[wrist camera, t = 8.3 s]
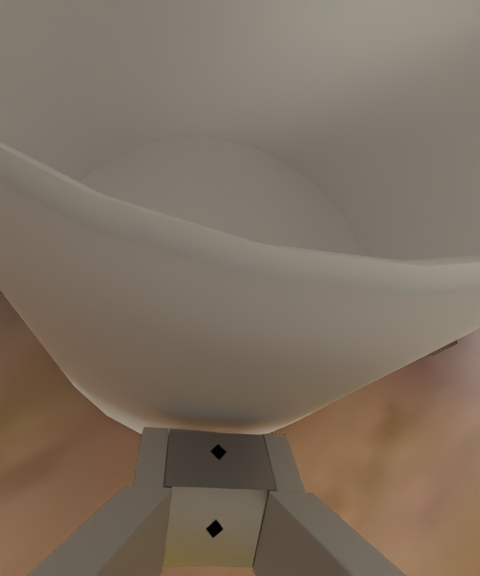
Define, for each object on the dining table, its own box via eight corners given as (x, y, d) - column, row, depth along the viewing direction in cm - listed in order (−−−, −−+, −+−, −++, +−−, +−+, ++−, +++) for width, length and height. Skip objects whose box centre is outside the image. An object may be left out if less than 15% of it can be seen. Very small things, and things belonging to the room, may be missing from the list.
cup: (-33, 292, 14) (-581, -287, 4) (190, 125, 19) (232, -316, 9) (234, 530, 13) (650, 735, 2) (400, 278, 18) (762, -38, 7)
